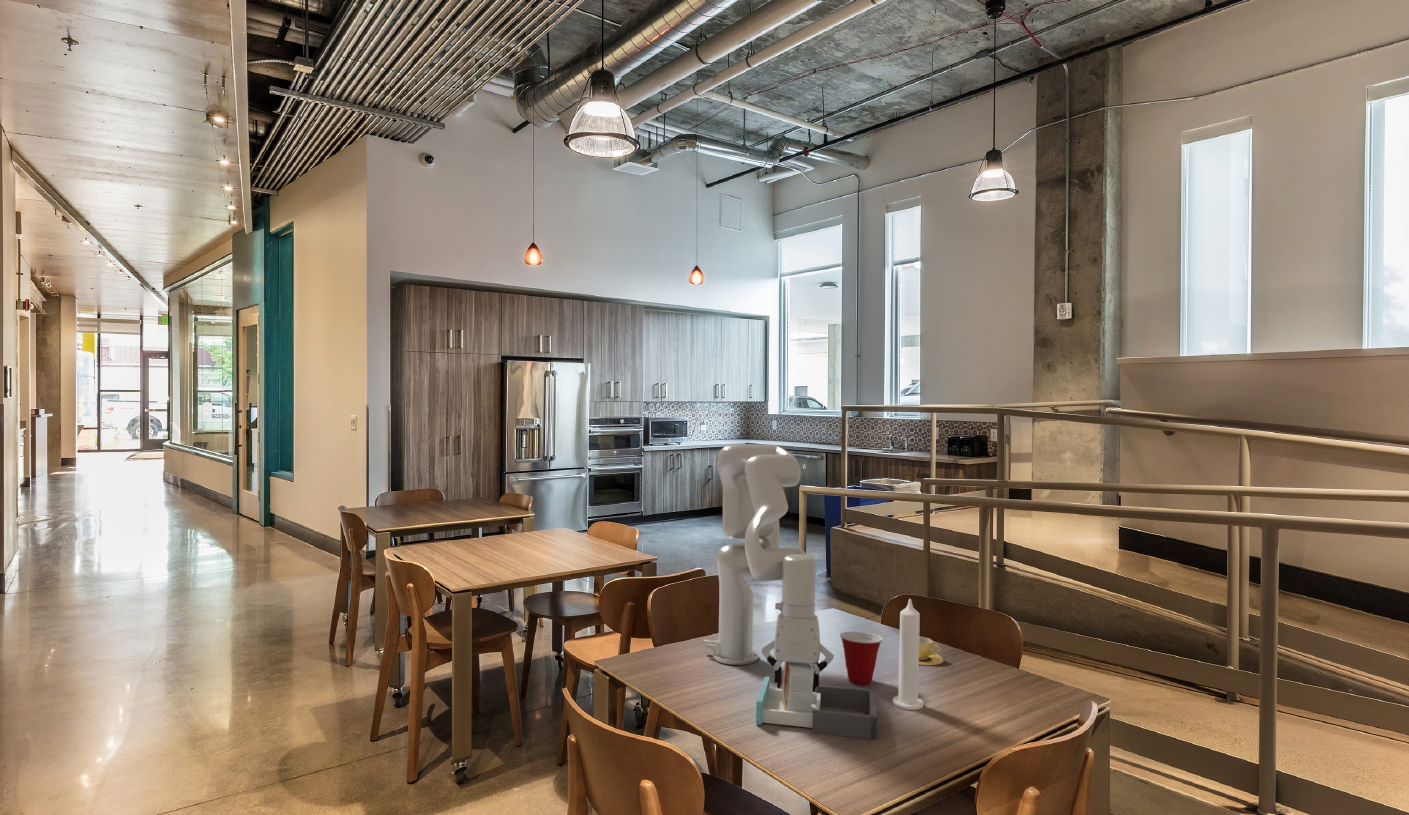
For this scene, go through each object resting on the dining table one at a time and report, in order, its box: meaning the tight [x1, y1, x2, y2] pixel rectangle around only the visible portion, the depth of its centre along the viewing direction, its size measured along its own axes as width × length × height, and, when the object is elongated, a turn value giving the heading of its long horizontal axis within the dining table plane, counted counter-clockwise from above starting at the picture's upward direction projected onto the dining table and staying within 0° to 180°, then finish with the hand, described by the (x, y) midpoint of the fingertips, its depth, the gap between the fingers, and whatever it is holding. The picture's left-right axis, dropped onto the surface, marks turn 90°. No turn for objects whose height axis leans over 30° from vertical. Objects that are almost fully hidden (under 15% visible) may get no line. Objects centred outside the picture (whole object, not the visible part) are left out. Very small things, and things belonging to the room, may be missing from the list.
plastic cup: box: [839, 630, 884, 687], centre depth 186 cm, size 11×11×12 cm
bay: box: [811, 683, 878, 740], centre depth 163 cm, size 13×16×4 cm
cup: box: [919, 636, 944, 666], centre depth 205 cm, size 12×12×5 cm
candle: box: [892, 598, 925, 711], centre depth 172 cm, size 7×7×25 cm
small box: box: [782, 662, 814, 713], centre depth 165 cm, size 8×6×10 cm
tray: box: [755, 676, 822, 729], centre depth 165 cm, size 13×15×5 cm
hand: (796, 687), depth 165 cm, fingers open, 7 cm apart
